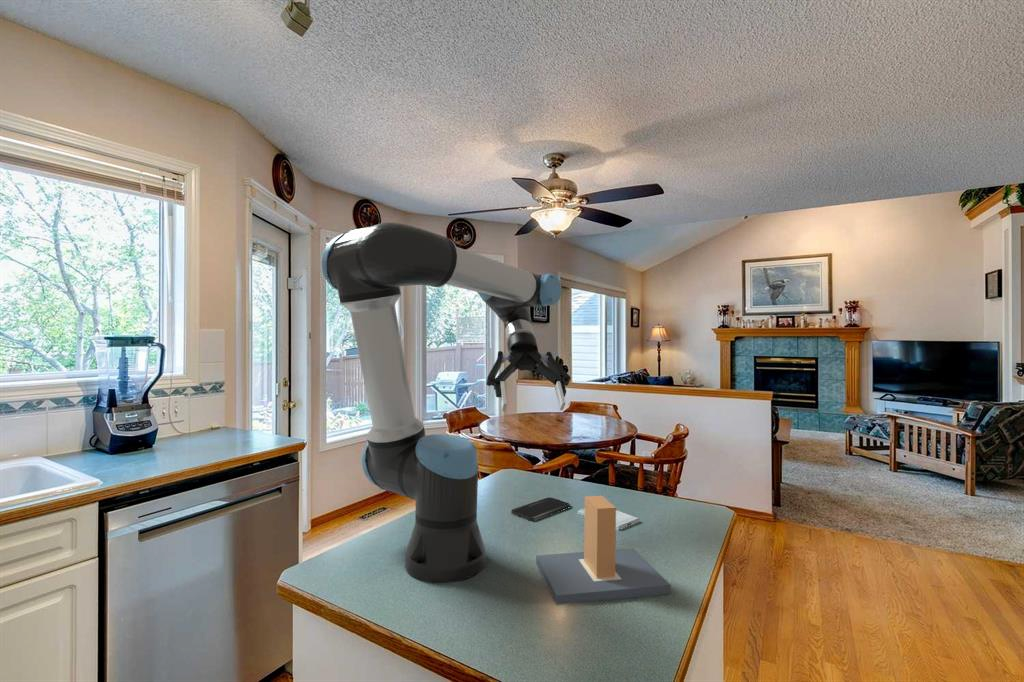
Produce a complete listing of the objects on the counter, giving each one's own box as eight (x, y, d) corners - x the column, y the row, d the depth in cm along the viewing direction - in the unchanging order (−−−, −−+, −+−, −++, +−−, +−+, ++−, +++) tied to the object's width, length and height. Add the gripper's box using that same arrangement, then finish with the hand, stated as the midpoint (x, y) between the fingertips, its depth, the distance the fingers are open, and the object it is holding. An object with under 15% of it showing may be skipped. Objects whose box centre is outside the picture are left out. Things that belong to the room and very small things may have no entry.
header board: (556, 604, 73) (556, 579, 73) (535, 563, 87) (536, 541, 87) (670, 593, 77) (670, 569, 77) (633, 555, 91) (633, 535, 91)
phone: (572, 504, 117) (531, 519, 107) (572, 508, 117) (531, 523, 107) (549, 496, 123) (509, 509, 113) (549, 500, 123) (509, 514, 113)
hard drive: (577, 510, 112) (618, 525, 103) (598, 503, 118) (639, 517, 108) (577, 517, 112) (618, 533, 103) (598, 509, 118) (639, 524, 108)
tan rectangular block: (596, 578, 78) (597, 508, 78) (584, 560, 85) (584, 496, 85) (615, 576, 79) (615, 507, 79) (601, 559, 85) (602, 495, 85)
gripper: (564, 351, 123) (582, 416, 108) (472, 350, 118) (477, 417, 103) (570, 331, 118) (590, 396, 103) (474, 329, 113) (480, 397, 98)
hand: (534, 407), depth 103 cm, fingers open, 13 cm apart
